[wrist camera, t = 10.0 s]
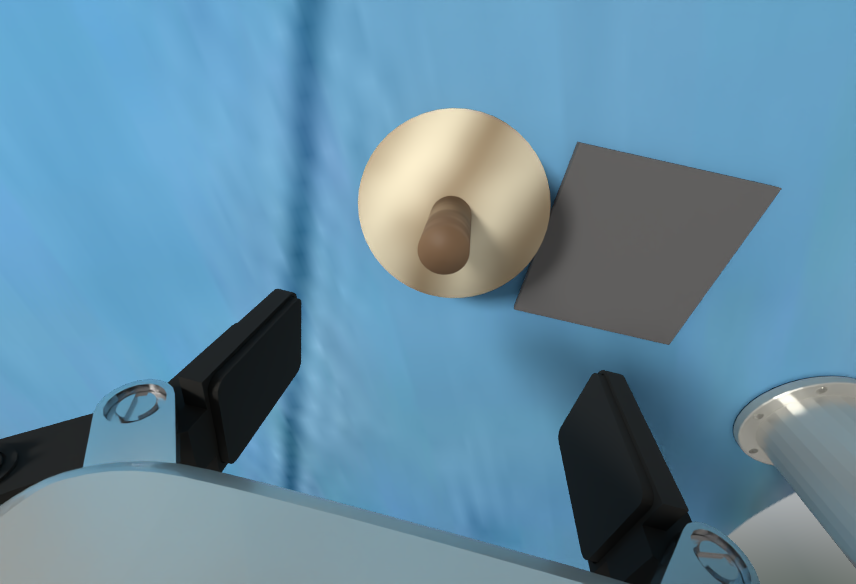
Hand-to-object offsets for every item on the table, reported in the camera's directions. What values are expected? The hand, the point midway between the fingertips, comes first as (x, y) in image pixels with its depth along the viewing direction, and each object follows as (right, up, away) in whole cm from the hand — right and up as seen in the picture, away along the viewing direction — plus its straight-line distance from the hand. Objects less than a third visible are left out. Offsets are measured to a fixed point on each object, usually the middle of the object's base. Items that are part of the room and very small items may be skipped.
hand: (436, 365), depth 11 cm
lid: (+1, +8, +14) cm, 16 cm away
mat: (+17, +6, +19) cm, 26 cm away
